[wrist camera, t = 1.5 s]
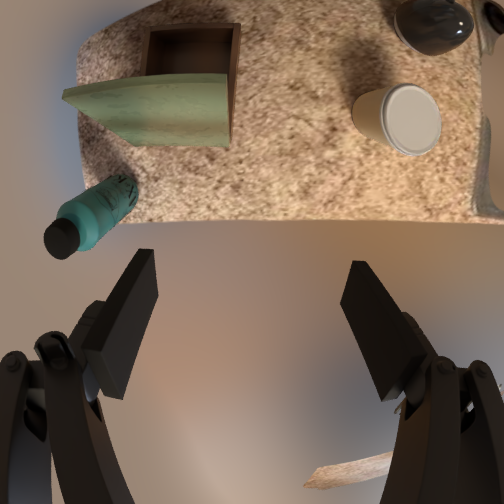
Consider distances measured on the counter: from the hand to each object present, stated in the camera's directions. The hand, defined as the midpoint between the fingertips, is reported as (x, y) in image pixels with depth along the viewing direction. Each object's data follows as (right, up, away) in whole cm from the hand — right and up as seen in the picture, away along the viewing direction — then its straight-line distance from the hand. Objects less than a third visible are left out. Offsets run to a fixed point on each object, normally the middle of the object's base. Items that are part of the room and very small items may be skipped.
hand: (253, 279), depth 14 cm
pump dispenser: (+26, +38, +15) cm, 49 cm away
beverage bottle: (-20, +11, +27) cm, 36 cm away
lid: (-8, +13, +8) cm, 18 cm away
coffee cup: (+19, +22, +23) cm, 37 cm away
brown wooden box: (-8, +25, +20) cm, 33 cm away
